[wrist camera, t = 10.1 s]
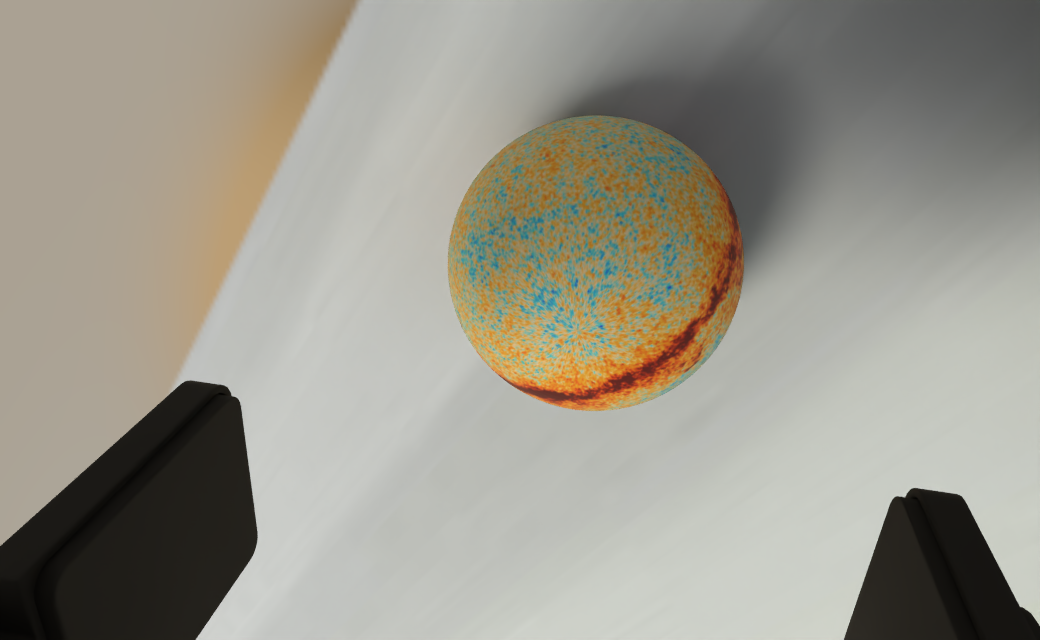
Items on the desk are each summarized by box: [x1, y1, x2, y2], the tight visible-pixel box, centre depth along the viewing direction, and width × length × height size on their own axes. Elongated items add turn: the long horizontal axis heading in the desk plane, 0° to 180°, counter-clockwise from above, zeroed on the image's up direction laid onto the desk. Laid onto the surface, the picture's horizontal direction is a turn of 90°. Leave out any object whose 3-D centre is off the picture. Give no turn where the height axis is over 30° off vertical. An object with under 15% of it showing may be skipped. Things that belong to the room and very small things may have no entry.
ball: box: [448, 116, 744, 411], centre depth 19 cm, size 7×7×7 cm
